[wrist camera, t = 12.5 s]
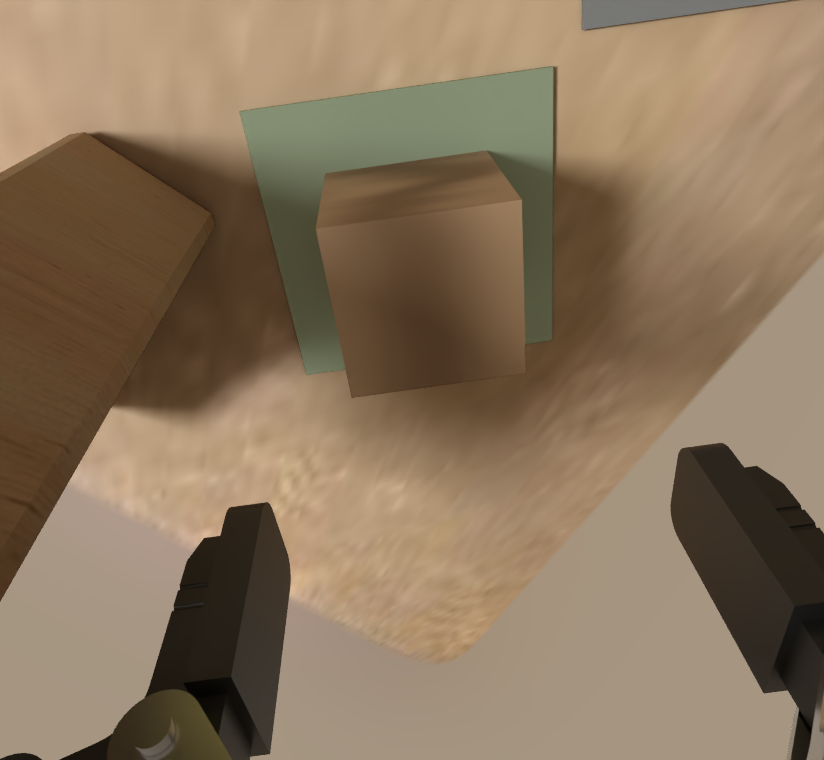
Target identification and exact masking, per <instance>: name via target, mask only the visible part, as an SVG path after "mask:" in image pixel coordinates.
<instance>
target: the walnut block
mask: <svg viewBox="0 0 824 760" xmlns="http://www.w3.org/2000/svg"><path fill="white" fill-rule="evenodd" d="M316 233H317V238H318V242H319V247H320V252H321V256H322V261H323V266H324V270H325V275H326V280H327V284H328V289H329V294H330V298H331V303H332V308H333V312H334V317H335V322H336V326H337V331H338V336H339V340H340V345H341V350H342V354H343V359H344V364H345V368H346V373H347V378H348V382H349V387H350V392H351V396H352V398H354V397H361V396H368V395H375V394H382V393H389V392H397V391H404V390H411V389H418V388H425V387H432V386H439V385H446V384H453V383H461V382H468V381H475V380H482V379H489V378H496V377H503V376H510V375H517V374H525V373H526V352H525V311H524V269H523V228H522V199H521V198H520V196H519V195H518V194H517V192H516V191H515V190H514V188H513V187H512V185H511V184H510V183H509V181H508V180H507V178H506V177H505V176H504V174H503V173H502V171H501V170H500V169H499V167H498V166H497V164H496V163H495V162H494V160H493V159H492V157H491V156H490V155H489V153H488V152H487V150H485V151H478V152H471V153H464V154H457V155H450V156H443V157H436V158H429V159H422V160H415V161H408V162H401V163H394V164H387V165H381V166H374V167H367V168H360V169H353V170H346V171H339V172H332V173H325V178H324V184H323V189H322V195H321V201H320V207H319V213H318V219H317V224H316Z"/></svg>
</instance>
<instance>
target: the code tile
mask: <svg viewBox="0 0 824 760" xmlns="http://www.w3.org/2000/svg"><path fill="white" fill-rule="evenodd" d="M781 1H787V0H582V30H586V29H593V28H600V27H607V26H614V25H621V24H628V23H634V22H641V21H648V20H655V19H662V18H669V17H676V16H683V15H690V14H697V13H704V12H711V11H718V10H725V9H732V8H739V7H746V6H753V5H760V4H767V3H774V2H781Z"/></svg>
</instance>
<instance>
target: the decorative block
mask: <svg viewBox="0 0 824 760" xmlns="http://www.w3.org/2000/svg"><path fill="white" fill-rule="evenodd" d="M214 227H215V225H214V221H213V218H212V215H211V213H210V212H208V211H207V210H205V209H204V208H202V207H201V206H199V205H198V204H196V203H194V202H193V201H191V200H190V199H188V198H187V197H185V196H183V195H182V194H180V193H179V192H177V191H176V190H174V189H173V188H171V187H169V186H168V185H166V184H165V183H163V182H162V181H160V180H159V179H157V178H155V177H154V176H152V175H151V174H149V173H148V172H146V171H144V170H143V169H141V168H140V167H138V166H137V165H135V164H134V163H132V162H130V161H129V160H127V159H126V158H124V157H123V156H121V155H120V154H118V153H116V152H115V151H113V150H112V149H110V148H109V147H107V146H105V145H104V144H102V143H101V142H99V141H98V140H96V139H95V138H93V137H91V136H90V135H88V134H87V133H85V132H83V133H77V134H70V135H68V136H67V137H65V138H63V139H61V140H59V141H58V142H56V143H54V144H52V145H50V146H49V147H47V148H45V149H43V150H41V151H39V152H38V153H36V154H34V155H32V156H30V157H29V158H27V159H25V160H23V161H21V162H19V163H18V164H16V165H14V166H12V167H10V168H9V169H7V170H5V171H3V172H1V173H0V601H1V599H2V597H3V596H4V594H5V592H6V590H7V589H8V587H9V585H10V584H11V582H12V580H13V578H14V577H15V575H16V572H17V571H18V569H19V568H20V566H21V564H22V563H23V561H24V559H25V557H26V556H27V554H28V552H29V550H30V549H31V547H32V545H33V543H34V541H35V540H36V538H37V536H38V534H39V533H40V531H41V529H42V528H43V526H44V524H45V522H46V521H47V519H48V517H49V515H50V514H51V512H52V510H53V508H54V507H55V505H56V503H57V501H58V499H59V498H60V496H61V494H62V493H63V491H64V489H65V487H66V486H67V484H68V482H69V480H70V479H71V477H72V475H73V473H74V472H75V470H76V468H77V466H78V465H79V463H80V461H81V459H82V458H83V456H84V454H85V452H86V451H87V449H88V447H89V445H90V444H91V442H92V440H93V438H94V437H95V435H96V433H97V431H98V430H99V428H100V426H101V424H102V423H103V421H104V419H105V417H106V416H107V414H108V412H109V410H110V409H111V407H112V405H113V403H114V402H115V400H116V398H117V396H118V395H119V393H120V391H121V389H122V388H123V386H124V384H125V382H126V381H127V379H128V377H129V375H130V374H131V372H132V370H133V368H134V367H135V365H136V363H137V361H138V360H139V358H140V356H141V355H142V353H143V351H144V349H145V348H146V346H147V344H148V342H149V341H150V339H151V337H152V335H153V334H154V332H155V330H156V328H157V327H158V325H159V323H160V321H161V320H162V318H163V316H164V314H165V313H166V311H167V309H168V307H169V306H170V304H171V302H172V300H173V299H174V297H175V295H176V293H177V292H178V290H179V288H180V286H181V285H182V283H183V281H184V279H185V278H186V276H187V274H188V272H189V271H190V269H191V267H192V265H193V264H194V262H195V260H196V258H197V257H198V255H199V253H200V251H201V250H202V248H203V246H204V244H205V243H206V241H207V239H208V237H209V236H210V234H211V232H212V230H213V229H214Z"/></svg>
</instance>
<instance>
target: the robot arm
mask: <svg viewBox="0 0 824 760" xmlns="http://www.w3.org/2000/svg"><path fill="white" fill-rule="evenodd" d="M671 517H672V522H673V526H674V529H675V532H676V534H677V536H678V538H679V540H680V542H681V543H682V545H683V547H684V549H685V551H686V553H687V554H688V556H689V558H690V560H691V562H692V563H693V565H694V567H695V569H696V571H697V573H698V574H699V576H700V578H701V580H702V582H703V584H704V585H705V587H706V589H707V591H708V592H709V595H710V596H711V598H712V600H713V602H714V603H715V605H716V607H717V609H718V611H719V613H720V614H721V616H722V618H723V620H724V622H725V623H726V625H727V627H728V629H729V631H730V633H731V635H732V636H733V638H734V640H735V641H736V643H737V645H738V647H739V649H740V651H741V653H742V655H743V656H744V658H745V660H746V662H747V664H748V665H749V667H750V669H751V671H752V673H753V675H754V676H755V678H756V680H757V682H758V684H759V685H760V687H761V689H762V691H763V693H770V692H777V691H786V690H788V691H789V693H790V695H791V696H792V698H793V700H794V701H795V703H796V705H797V708H796V711H795V714H794V719H793V724H792V730H791V736H790V743H789V748H788V753H787V760H824V534H823V532H822V531H821V529H820V528H816V526H815V522H814V521H813V520H812V518H811V517H810V516H809V515H808V513H807V512H806V511H805V510H802V509H801V505H800V504H799V502H798V501H797V500H796V499H795V497H794V496H793V495H792V494H791V493H790V491H789V490H788V489H787V488H786V486H785V485H784V484H783V483H782V482H780V481H779V480H777V479H776V478H774V477H773V476H771V475H770V474H768V473H767V472H765V471H764V470H762V469H761V468H759V467H758V466H753V467H746V468H744V467H743V465H742V464H741V463H740V461H739V460H738V459H737V458H736V456H735V455H734V454H733V452H732V451H731V450H730V449H729V447H728V446H726V445H725V444H723V443H717V444H710V445H703V446H695V447H687V448H682V449H681V450H680V452H679V454H678V460H677V466H676V472H675V479H674V485H673V492H672V499H671ZM290 581H291V575H290V563H289V558H288V554H287V551H286V548H285V545H284V542H283V539H282V536H281V533H280V530H279V527H278V524H277V522H276V519H275V516H274V513H273V510H272V507H271V506H270V504H269V503H268V502H266V503H259V504H251V505H244V506H236V507H230V508H229V509H228V510H227V513H226V516H225V520H224V524H223V528H222V532H221V536H216V537H209V538H204V539H203V540H202V542H201V543H200V544H199V546H198V547H197V548H196V550H195V551H194V552H193V554H192V555H191V556H190V558H189V559H188V561H187V563H186V566H185V570H184V573H183V576H182V580H181V583H180V590H179V591H178V593H177V596H176V600H175V603H174V611H172V613H171V616H170V619H169V623H168V626H167V629H166V633H165V636H164V640H163V643H162V647H161V649H160V653H159V656H158V659H157V663H156V666H155V670H154V673H153V677H152V679H151V683H150V686H149V689H148V692H147V694H146V696H145V698H144V699H142V700H141V701H139V702H138V703H137V704H135V705H134V706H133V707H132V708H131V709H130V710H129V711H128V712H127V713H126V714H125V715H124V716H123V718H122V719H121V720H120V721H119V723H118V724H117V726H116V728H115V729H114V731H113V734H111V735H110V736H108V737H107V738H105V739H103V740H101V741H99V742H98V743H96V744H93V745H91V746H89V747H87V748H85V749H82V750H80V751H78V752H75V753H73V754H71V755H69V756H67V757H64V758H62V759H60V760H250V757H251V756H259V755H266V754H270V749H271V741H272V732H273V724H274V715H275V708H276V698H277V691H278V683H279V674H280V666H281V657H282V650H283V640H284V633H285V625H286V617H287V609H288V600H289V592H290ZM0 760H42V759H40V758H39V757H37V756H35V755H33V754H27V753H19V754H13V755H10V756H7V757H4V758H2V759H0Z"/></svg>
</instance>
